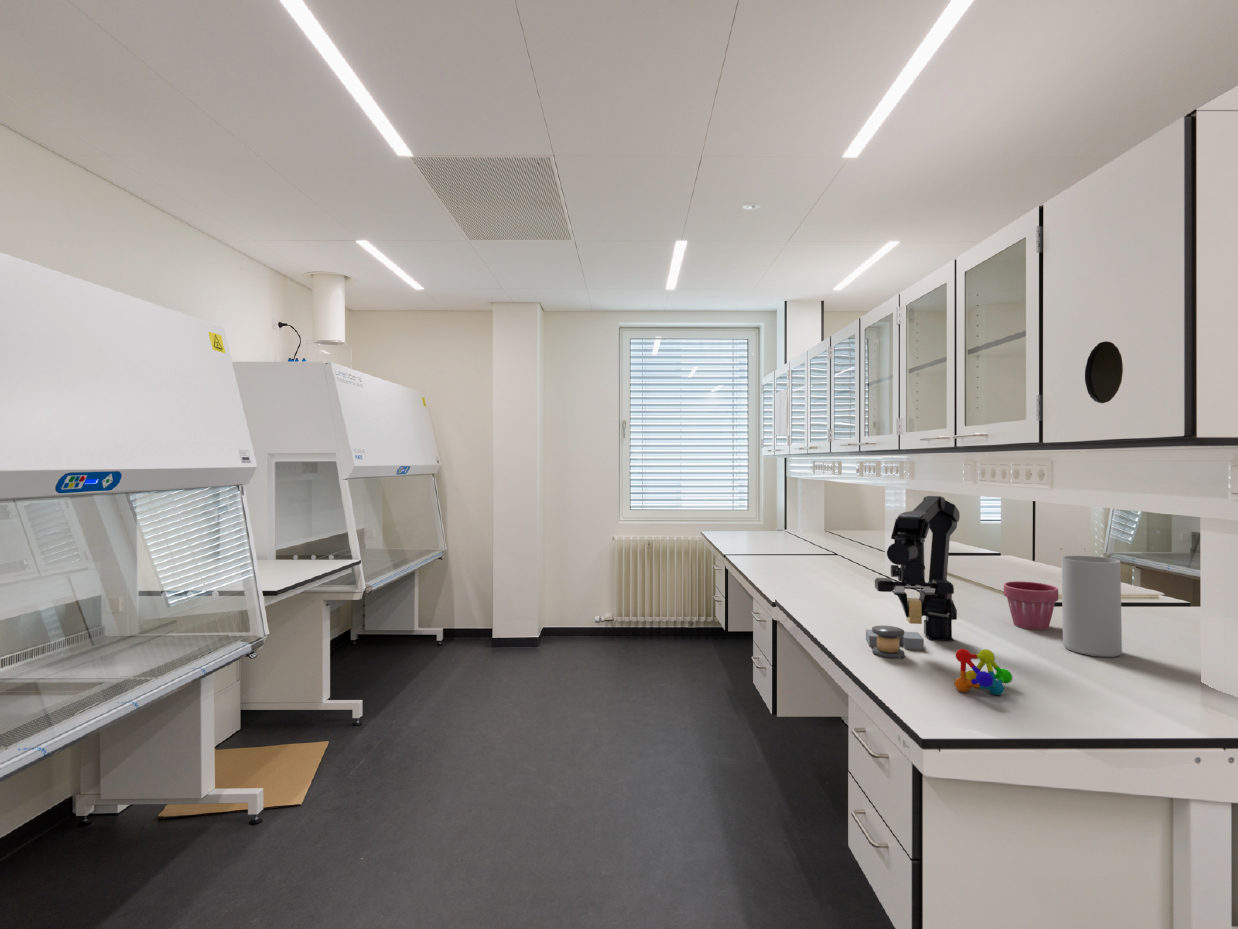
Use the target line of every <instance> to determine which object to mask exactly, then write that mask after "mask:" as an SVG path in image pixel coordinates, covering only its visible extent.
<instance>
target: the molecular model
mask: <svg viewBox="0 0 1238 929" xmlns="http://www.w3.org/2000/svg"><path fill="white" fill-rule="evenodd" d="M955 658H956V660H957V662H959V663H960V670H959V671H960V672H959V675H960V676H959V677H957V678H956V679H955V681H954V687H955V688H956V690H958V691H959V692H961V693H968V692H969V691H970V690H971V689H977V690H979V689H980V690H988V692H989V693H990V694H991V695H992V696H1001V695H1002V694H1003V693H1004V692H1005V687H1004V685H1003V684H1008V683H1010V682H1012V680H1013V674H1012V673H1011V671H1009V670H1008V669H1006V668H1001V667H1000V666H999V665H998V664H997V663H996V661H995V658H996V656H995V654H994V652H993V651H992V650H990V649H987V648H986V649H981V650H980V651H979V653H971V651H969V650H968V649H966V648H960V649H957V651H956V652H955ZM973 659H974V660H979V662H978V664H977V665H976V664H975V663H974V662H973V661H972V660H973ZM967 665H968V666H969V667H970V668H971V669H972V670H967ZM985 665H986V670H987V671H983V670H982V669H983V668H984V666H985ZM994 670H995V671H996V672H995V671H994Z"/></svg>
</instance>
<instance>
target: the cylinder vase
mask: <svg viewBox="0 0 1238 929" xmlns="http://www.w3.org/2000/svg"><path fill="white" fill-rule="evenodd" d="M1121 572H1122V571H1121V560H1119V559H1117V558H1111V557H1103V556H1093V555H1092V556H1091V555H1064V556H1061V593H1062V594H1061V595H1062V596H1061V597H1062V598H1061V599H1062V601H1061V602H1062V604H1061V605H1062V608H1061V609H1062V645H1063V647H1064V648H1066V649H1067V650H1069V651H1070V650H1071V652H1074V653H1077V654H1079V655H1080V654H1081V655H1084V654H1085V655H1084V656H1089V655H1090V656H1091V657H1097V658H1116V657H1119V656H1121V655H1122V653H1123V640H1122V639H1123V636H1122V635H1123V634H1122V633H1123V631H1122V583H1121V582H1122V580H1121V579H1122V577H1121V574H1122V573H1121Z"/></svg>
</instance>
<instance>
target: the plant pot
mask: <svg viewBox="0 0 1238 929" xmlns="http://www.w3.org/2000/svg"><path fill="white" fill-rule="evenodd" d="M1003 596H1004V597H1006V598H1007V604H1008V607H1009V611H1010V615H1011V619H1012V622H1013V625H1014V626H1015V627H1018V626H1019V627H1018V628H1021V629H1025V628H1026V630H1031V631H1032V630H1034V631H1044V630H1045V631H1046V630H1049V628H1050V624H1051V620H1052V618H1053V617H1052V616H1053V612H1054V608H1055V603H1056V602H1058V601H1059V588H1058V587H1057V586H1055V585H1051V584H1048V583H1047V584H1046V583H1041V582H1035V581H1034V582H1033V581H1024V580H1023V581H1018V580H1017V581H1016V580H1015V581H1014V580H1013V581H1007V582H1004V583H1003Z"/></svg>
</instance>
